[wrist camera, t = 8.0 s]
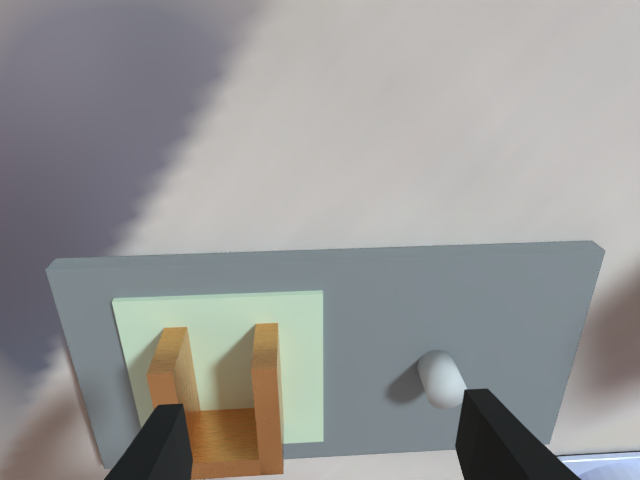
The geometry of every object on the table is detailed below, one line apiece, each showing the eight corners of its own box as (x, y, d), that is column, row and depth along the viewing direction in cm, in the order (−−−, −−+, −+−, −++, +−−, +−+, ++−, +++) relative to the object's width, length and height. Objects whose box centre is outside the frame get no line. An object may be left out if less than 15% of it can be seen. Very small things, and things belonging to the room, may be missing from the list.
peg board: (540, 429, 27) (568, 476, 24) (110, 453, 26) (90, 505, 23) (592, 240, 22) (635, 273, 19) (56, 258, 21) (20, 296, 18)
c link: (283, 421, 24) (283, 474, 21) (182, 426, 24) (169, 480, 21) (278, 322, 21) (276, 368, 18) (164, 327, 21) (146, 374, 18)
